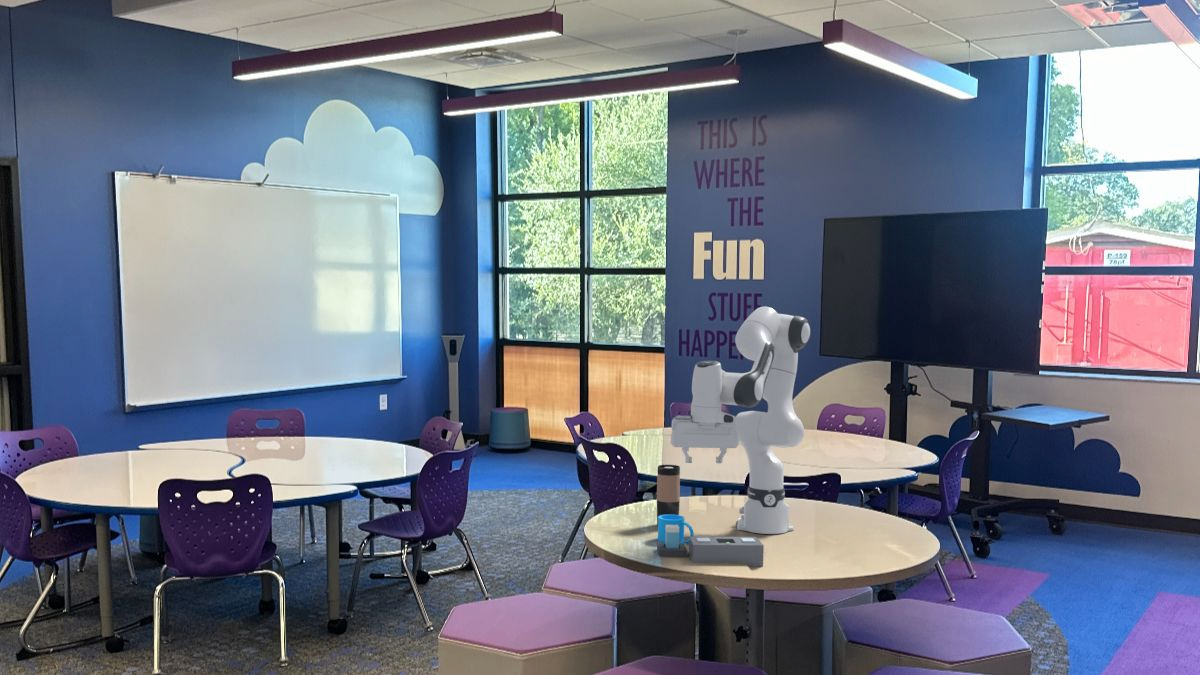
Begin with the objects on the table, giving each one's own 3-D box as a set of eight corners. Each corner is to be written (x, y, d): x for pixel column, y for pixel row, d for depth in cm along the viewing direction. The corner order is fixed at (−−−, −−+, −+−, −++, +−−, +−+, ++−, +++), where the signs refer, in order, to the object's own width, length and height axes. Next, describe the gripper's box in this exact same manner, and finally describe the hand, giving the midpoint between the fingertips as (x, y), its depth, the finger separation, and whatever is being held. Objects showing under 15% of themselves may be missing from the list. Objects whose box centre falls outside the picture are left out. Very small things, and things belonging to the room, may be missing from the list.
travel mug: (680, 523, 327) (681, 465, 327) (678, 528, 320) (679, 468, 319) (657, 522, 329) (658, 464, 328) (655, 527, 321) (656, 467, 321)
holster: (656, 553, 288) (657, 543, 288) (683, 553, 288) (683, 543, 288) (659, 560, 280) (659, 549, 280) (687, 560, 280) (687, 550, 280)
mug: (652, 543, 299) (653, 517, 299) (666, 538, 306) (666, 513, 306) (686, 550, 293) (687, 523, 292) (699, 544, 299) (700, 518, 299)
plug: (665, 551, 286) (665, 524, 286) (677, 551, 286) (677, 524, 286) (666, 554, 282) (666, 527, 282) (678, 554, 282) (679, 527, 282)
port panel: (688, 556, 284) (689, 535, 284) (756, 557, 285) (756, 535, 285) (693, 565, 274) (693, 543, 274) (763, 566, 275) (763, 543, 275)
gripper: (675, 416, 279) (673, 464, 279) (741, 417, 283) (739, 464, 283) (668, 414, 285) (666, 461, 285) (734, 415, 289) (732, 461, 289)
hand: (703, 462), depth 284 cm, fingers open, 8 cm apart
